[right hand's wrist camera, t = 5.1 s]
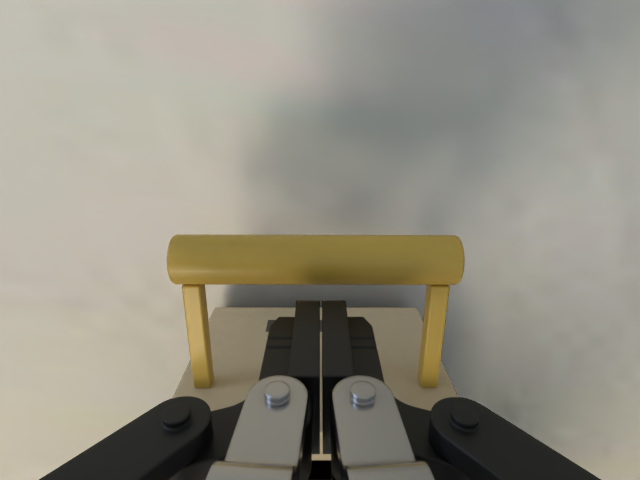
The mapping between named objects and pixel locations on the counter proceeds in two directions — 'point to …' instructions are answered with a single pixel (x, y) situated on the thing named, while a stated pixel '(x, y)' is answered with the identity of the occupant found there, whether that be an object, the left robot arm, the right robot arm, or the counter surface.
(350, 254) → the drawer
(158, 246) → the counter surface
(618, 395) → the counter surface
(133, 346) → the counter surface
